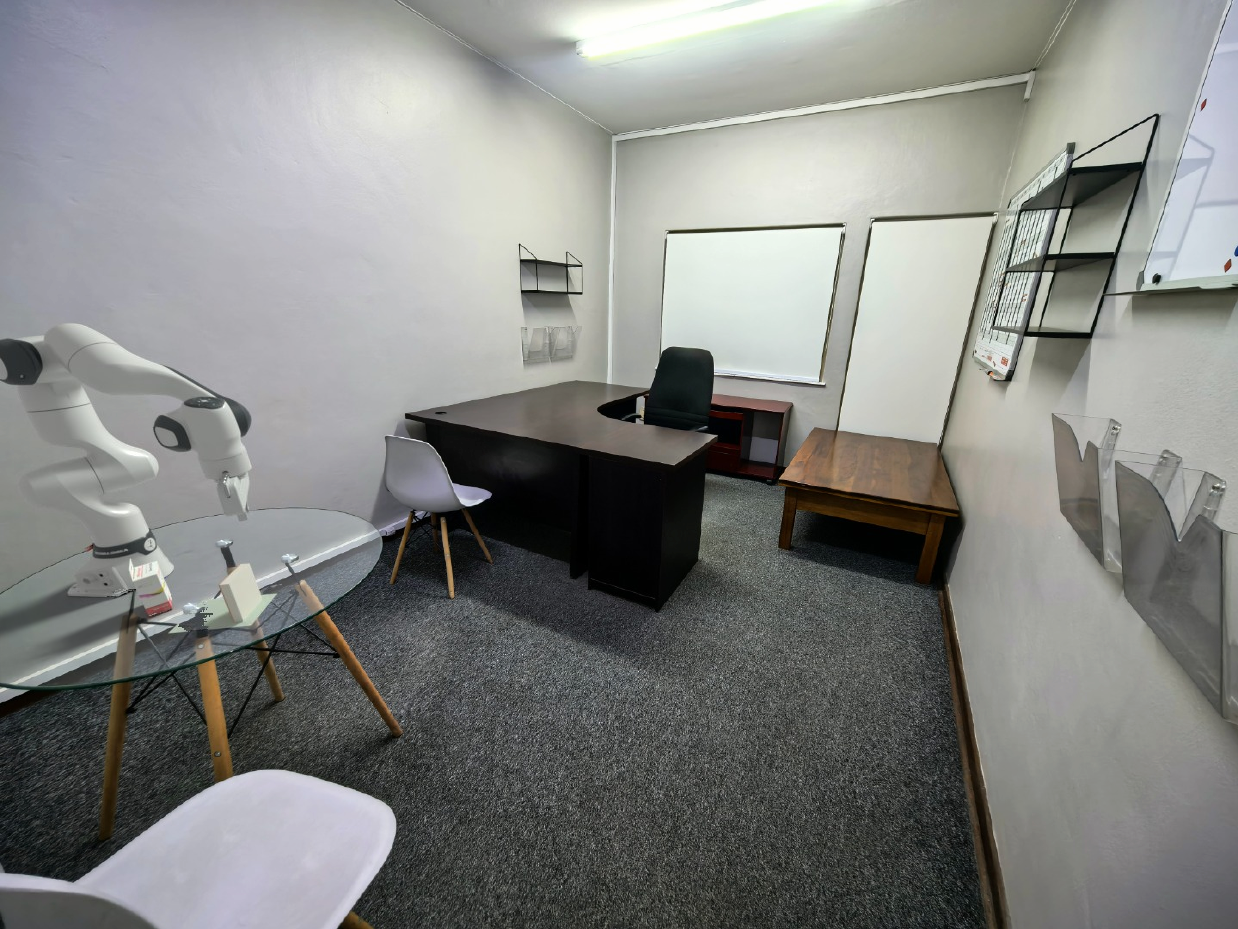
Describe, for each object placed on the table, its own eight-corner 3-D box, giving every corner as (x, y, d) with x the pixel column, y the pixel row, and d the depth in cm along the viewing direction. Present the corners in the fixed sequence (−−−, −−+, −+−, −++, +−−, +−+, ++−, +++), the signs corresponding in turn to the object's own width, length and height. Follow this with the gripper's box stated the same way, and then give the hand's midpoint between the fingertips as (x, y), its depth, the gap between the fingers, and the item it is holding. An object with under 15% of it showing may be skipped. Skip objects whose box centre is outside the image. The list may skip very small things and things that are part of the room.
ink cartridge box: (174, 609, 124) (153, 564, 118) (148, 618, 121) (126, 572, 115) (172, 594, 129) (152, 551, 124) (148, 602, 126) (127, 558, 121)
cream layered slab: (233, 622, 119) (218, 585, 114) (253, 599, 127) (239, 564, 123) (243, 621, 119) (228, 584, 115) (262, 599, 128) (249, 563, 123)
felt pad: (168, 634, 115) (168, 633, 115) (203, 601, 127) (202, 599, 127) (251, 626, 118) (250, 625, 118) (277, 594, 130) (277, 593, 130)
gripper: (240, 477, 102) (258, 530, 107) (246, 450, 117) (261, 497, 123) (203, 484, 98) (224, 538, 104) (214, 454, 114) (232, 503, 119)
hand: (244, 516), depth 113 cm, fingers open, 3 cm apart
